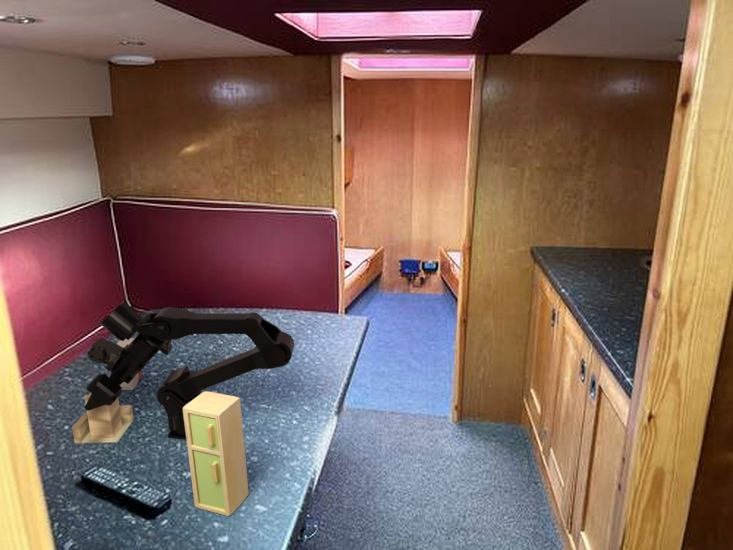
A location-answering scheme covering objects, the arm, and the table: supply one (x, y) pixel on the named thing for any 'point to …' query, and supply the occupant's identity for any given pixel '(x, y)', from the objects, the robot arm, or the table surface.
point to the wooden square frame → (84, 436)
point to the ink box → (138, 376)
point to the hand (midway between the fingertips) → (95, 398)
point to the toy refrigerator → (216, 452)
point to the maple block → (104, 420)
